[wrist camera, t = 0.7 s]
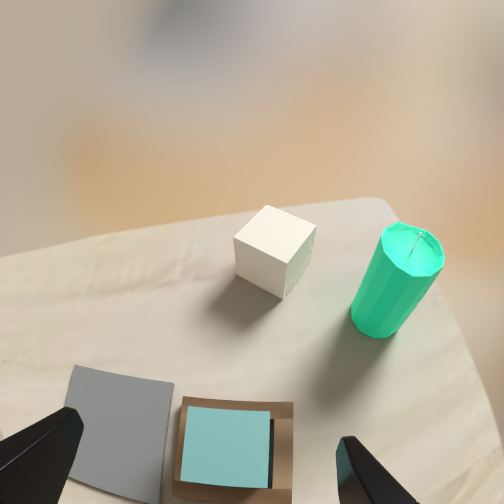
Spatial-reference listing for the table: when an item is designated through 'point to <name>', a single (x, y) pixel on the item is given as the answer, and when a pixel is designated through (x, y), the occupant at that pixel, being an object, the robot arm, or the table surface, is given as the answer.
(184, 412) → the frame
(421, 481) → the table surface
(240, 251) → the white cube
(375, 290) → the candle
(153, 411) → the mat
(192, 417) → the teal rectangular block
